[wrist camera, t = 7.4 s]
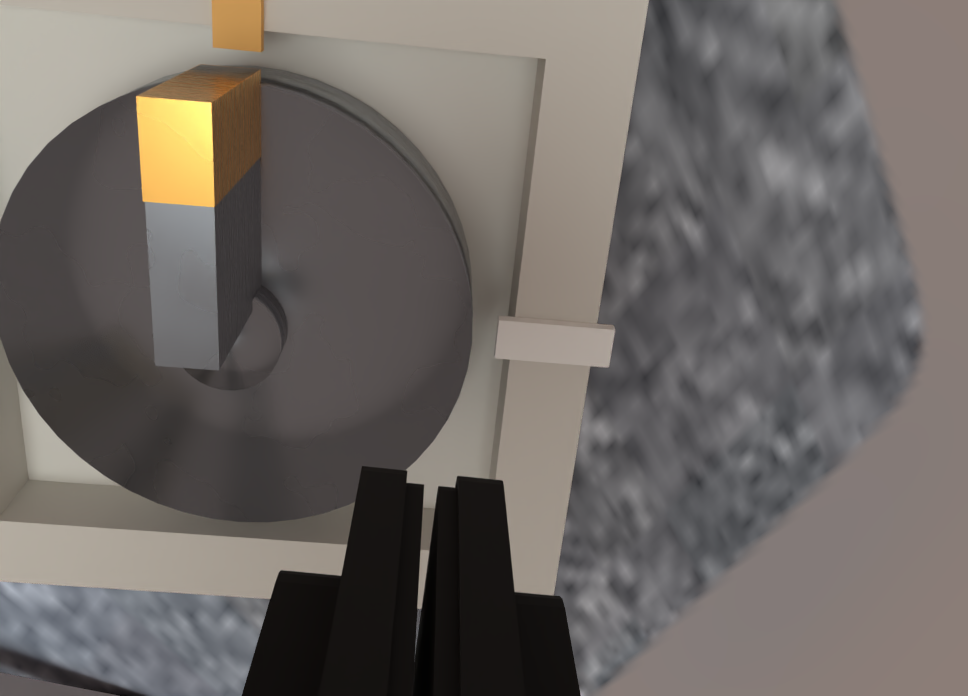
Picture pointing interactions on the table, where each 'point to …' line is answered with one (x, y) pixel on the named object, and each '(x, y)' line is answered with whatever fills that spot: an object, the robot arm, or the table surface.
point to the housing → (479, 204)
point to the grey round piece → (236, 293)
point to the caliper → (40, 688)
